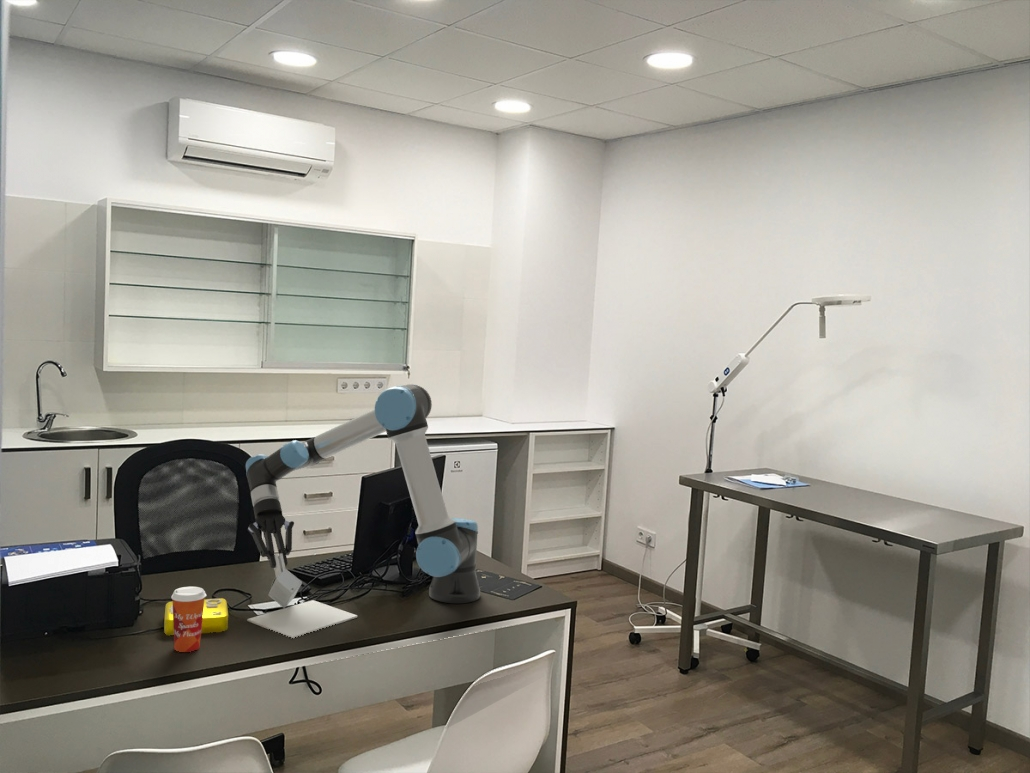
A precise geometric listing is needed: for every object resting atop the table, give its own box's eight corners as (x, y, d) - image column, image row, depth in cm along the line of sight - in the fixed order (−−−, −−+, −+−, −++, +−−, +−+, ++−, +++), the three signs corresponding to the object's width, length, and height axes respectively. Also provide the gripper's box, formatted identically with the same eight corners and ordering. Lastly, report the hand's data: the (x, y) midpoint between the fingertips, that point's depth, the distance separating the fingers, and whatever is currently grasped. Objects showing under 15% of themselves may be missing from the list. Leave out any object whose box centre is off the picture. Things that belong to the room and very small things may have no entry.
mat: (357, 617, 229) (357, 615, 229) (292, 638, 211) (292, 636, 211) (312, 601, 240) (312, 600, 240) (247, 620, 222) (247, 619, 222)
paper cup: (170, 656, 197) (171, 597, 196) (169, 644, 204) (170, 587, 203) (205, 652, 200) (207, 594, 199) (203, 641, 207) (205, 584, 206)
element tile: (165, 617, 222) (165, 599, 222) (225, 613, 228) (226, 595, 228) (163, 638, 208) (164, 618, 208) (228, 633, 214) (228, 614, 214)
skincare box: (294, 597, 236) (303, 582, 227) (284, 609, 233) (292, 594, 224) (277, 583, 236) (285, 567, 227) (267, 594, 233) (274, 579, 224)
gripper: (286, 510, 251) (302, 581, 238) (239, 512, 243) (253, 586, 231) (293, 496, 246) (309, 567, 233) (245, 498, 239) (260, 572, 226)
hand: (281, 577), depth 232 cm, fingers closed, pressing on skincare box
